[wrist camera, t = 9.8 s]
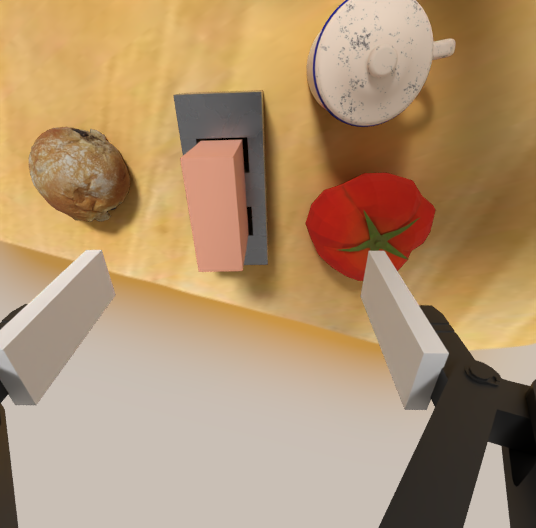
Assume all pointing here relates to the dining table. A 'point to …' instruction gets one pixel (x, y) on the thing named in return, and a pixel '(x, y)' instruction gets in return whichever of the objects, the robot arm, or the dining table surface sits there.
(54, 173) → the bread roll
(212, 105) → the grey rectangular block
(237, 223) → the chamfered pink post
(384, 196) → the tomato
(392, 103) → the teacup with lid
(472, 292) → the dining table surface
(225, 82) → the dining table surface
